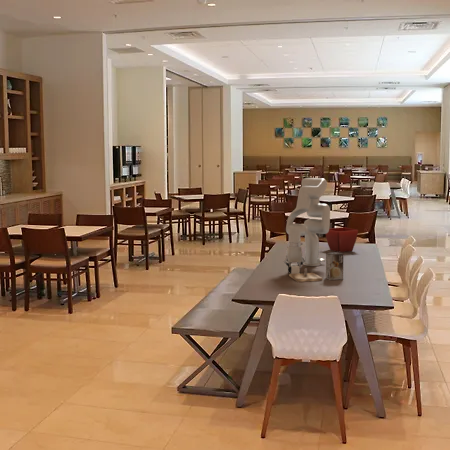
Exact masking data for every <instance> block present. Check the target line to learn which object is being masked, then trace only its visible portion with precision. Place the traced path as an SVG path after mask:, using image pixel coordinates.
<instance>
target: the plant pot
mask: <svg viewBox="0 0 450 450" xmlns="http://www.w3.org/2000/svg"><path fill="white" fill-rule="evenodd" d="M358 233H359V229H355V228H349V227H344V226H342V227H341V226H340V227H329V232H328V233H326V234H325V239H326V242H327V245H328V248H329V250H330V251H332V250H333V251H332V252H335V253H336V252H339V253H344V252H345V253H346V252H352V251H353V250H354V248H355V245H356V241H357V238H358Z"/></svg>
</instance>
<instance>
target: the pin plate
mask: <svg viewBox="0 0 450 450" xmlns="http://www.w3.org/2000/svg"><path fill="white" fill-rule="evenodd" d="M303 271H304V272H302V273H301V272H300V273H299V274H291V273H289V274H288V275H289V276H288V277H290V278H292V279H293V280H294V281H296V282H297V283H298V282H299V283H300V282H318V281H320V280H323V277H322V276H320V275H318V274H316V273H314V272H308V268H304V270H303ZM320 282H321V281H320Z"/></svg>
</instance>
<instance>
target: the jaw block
mask: <svg viewBox="0 0 450 450" xmlns="http://www.w3.org/2000/svg"><path fill="white" fill-rule="evenodd" d="M299 273H301V267H300V266H298V264H297V263H295V264H291V273H290V274H299Z"/></svg>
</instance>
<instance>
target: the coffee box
mask: <svg viewBox="0 0 450 450" xmlns="http://www.w3.org/2000/svg"><path fill="white" fill-rule="evenodd" d="M325 279H327V280H329V281H336V280H344V253H343V252H336V251H335V252H326V253H325Z"/></svg>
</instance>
